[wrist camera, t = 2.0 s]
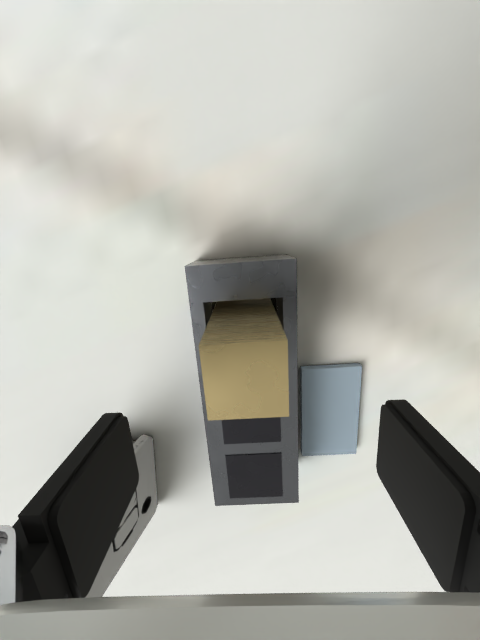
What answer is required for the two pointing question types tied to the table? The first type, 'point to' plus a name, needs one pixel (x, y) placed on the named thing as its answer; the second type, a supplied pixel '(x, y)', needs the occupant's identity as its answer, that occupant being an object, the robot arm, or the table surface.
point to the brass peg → (245, 361)
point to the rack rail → (255, 433)
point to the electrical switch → (131, 517)
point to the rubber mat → (330, 408)
